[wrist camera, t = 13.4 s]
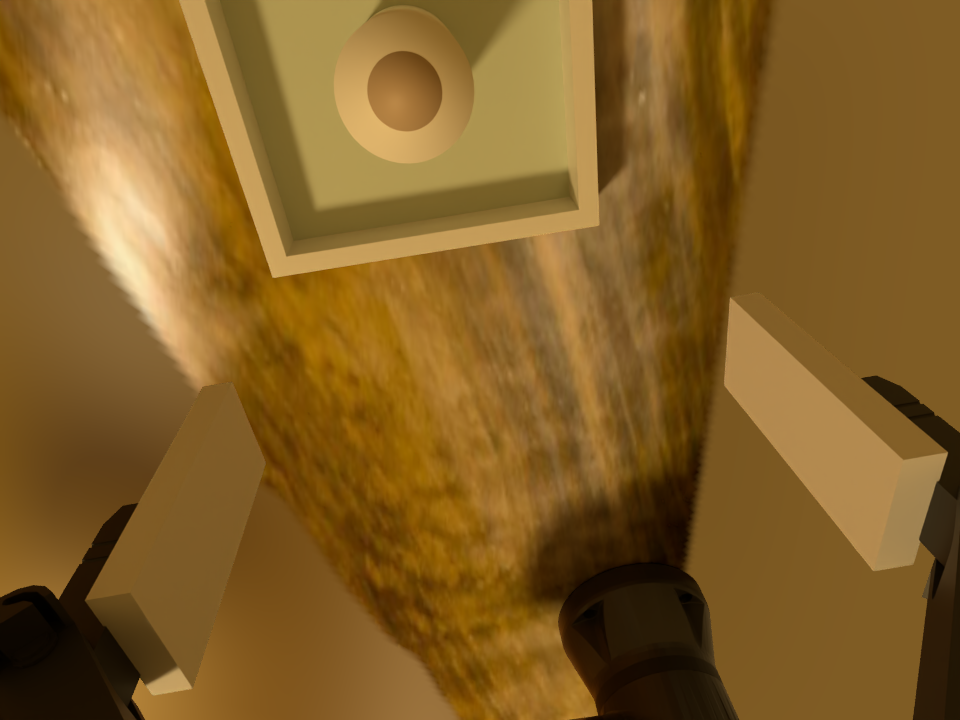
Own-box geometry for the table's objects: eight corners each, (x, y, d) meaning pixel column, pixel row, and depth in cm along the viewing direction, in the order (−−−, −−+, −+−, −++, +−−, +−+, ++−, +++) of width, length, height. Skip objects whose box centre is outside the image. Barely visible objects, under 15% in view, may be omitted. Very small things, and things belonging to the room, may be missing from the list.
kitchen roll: (467, 112, 37) (483, 152, 28) (367, 129, 37) (353, 173, 28) (450, -4, 34) (462, 1, 25) (341, 14, 34) (316, 25, 25)
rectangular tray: (585, 207, 41) (599, 225, 38) (283, 256, 41) (272, 277, 38) (568, -193, 31) (585, -212, 28) (158, -130, 30) (130, -142, 27)
